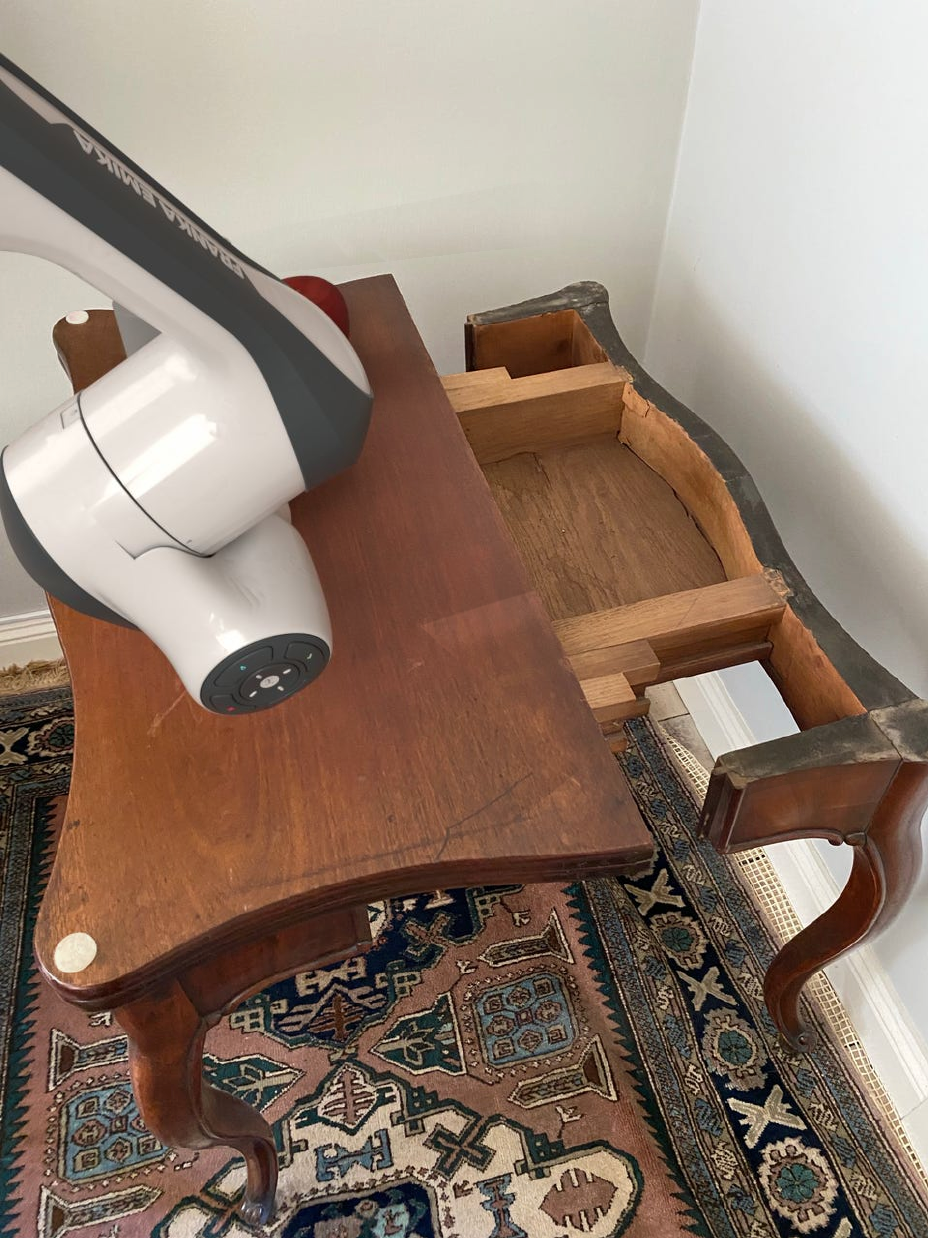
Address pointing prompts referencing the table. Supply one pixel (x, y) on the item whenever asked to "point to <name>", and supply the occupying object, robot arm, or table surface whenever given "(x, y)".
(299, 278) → the apple
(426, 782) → the table surface
